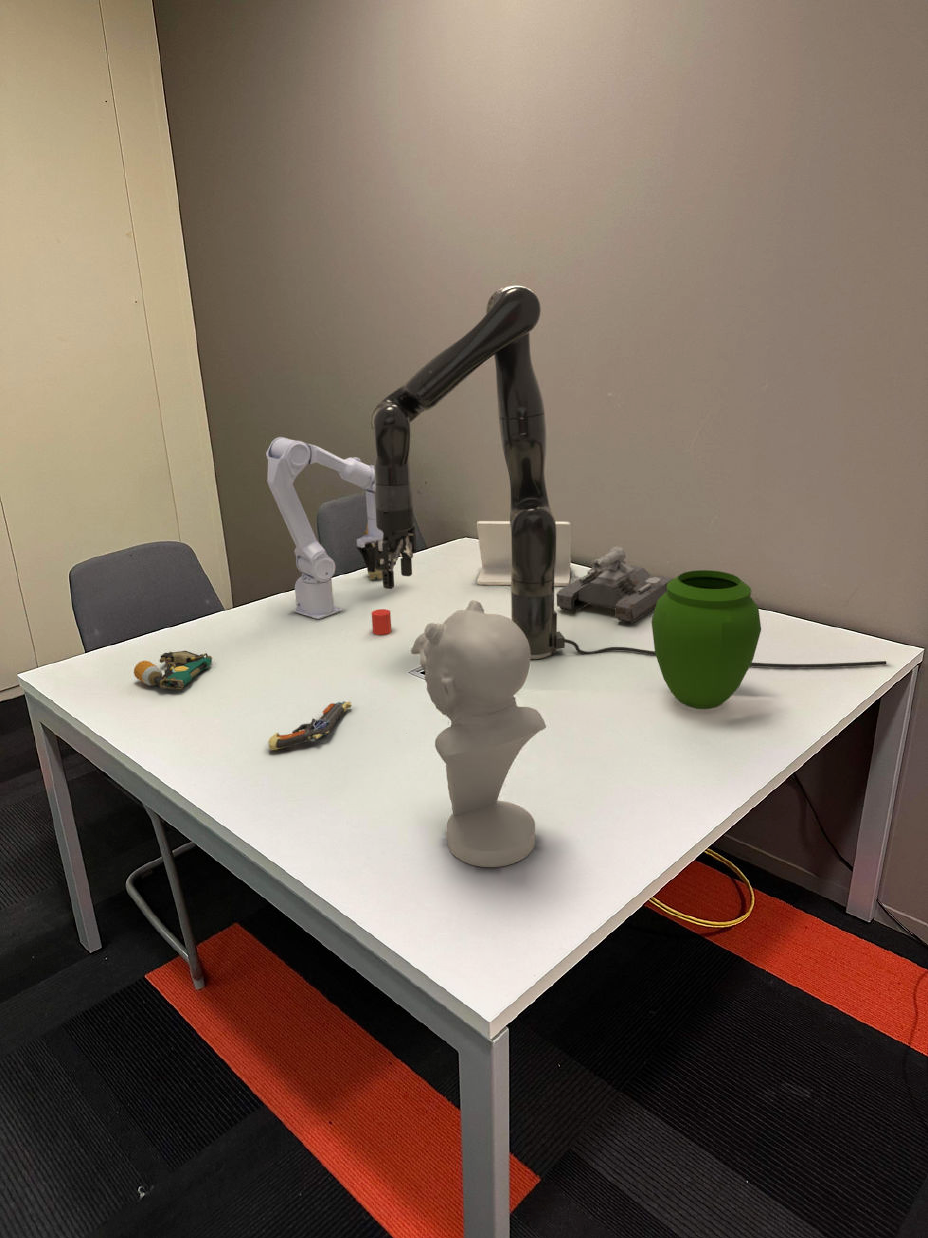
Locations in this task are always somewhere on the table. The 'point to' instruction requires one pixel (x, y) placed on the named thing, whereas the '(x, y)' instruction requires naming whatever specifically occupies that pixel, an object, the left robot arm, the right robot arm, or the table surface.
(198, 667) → the spray gun
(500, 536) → the tablet stand
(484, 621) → the bust sculpture
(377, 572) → the sculpture
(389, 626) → the canister
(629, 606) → the toy
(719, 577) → the vase
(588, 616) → the table surface
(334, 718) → the toy gun
